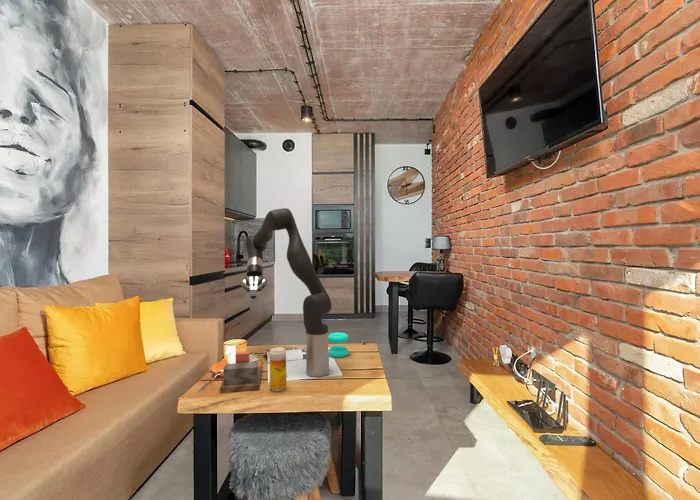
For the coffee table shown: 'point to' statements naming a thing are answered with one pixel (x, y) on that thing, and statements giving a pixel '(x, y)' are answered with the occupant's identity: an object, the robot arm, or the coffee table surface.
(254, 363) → the grey and brown block
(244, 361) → the reddish brown block
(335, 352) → the donuts
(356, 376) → the coffee table surface
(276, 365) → the beer glass
